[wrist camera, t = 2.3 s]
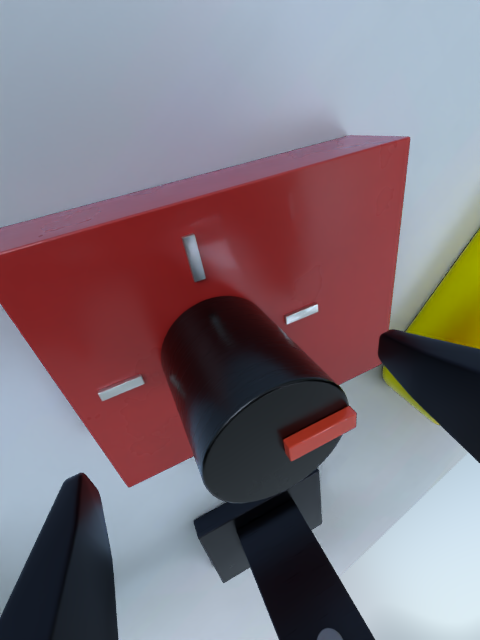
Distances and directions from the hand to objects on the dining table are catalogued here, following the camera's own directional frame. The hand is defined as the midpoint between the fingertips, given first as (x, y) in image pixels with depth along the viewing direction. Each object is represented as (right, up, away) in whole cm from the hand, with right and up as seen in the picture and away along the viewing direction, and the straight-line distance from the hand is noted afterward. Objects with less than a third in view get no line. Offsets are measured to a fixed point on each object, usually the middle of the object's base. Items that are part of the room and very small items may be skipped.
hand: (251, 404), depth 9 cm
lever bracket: (+1, -12, +16) cm, 20 cm away
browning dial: (-1, +1, +2) cm, 3 cm away
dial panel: (-1, +3, +5) cm, 6 cm away
